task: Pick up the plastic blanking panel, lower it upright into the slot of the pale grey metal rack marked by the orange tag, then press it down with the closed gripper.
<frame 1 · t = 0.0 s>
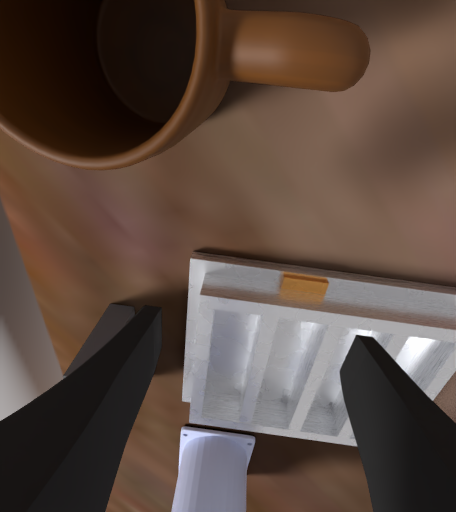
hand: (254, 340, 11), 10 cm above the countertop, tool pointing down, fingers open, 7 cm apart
mug: (205, 58, 16), on the countertop
rack: (305, 349, 25), on the countertop
panel: (125, 343, 27), on the countertop
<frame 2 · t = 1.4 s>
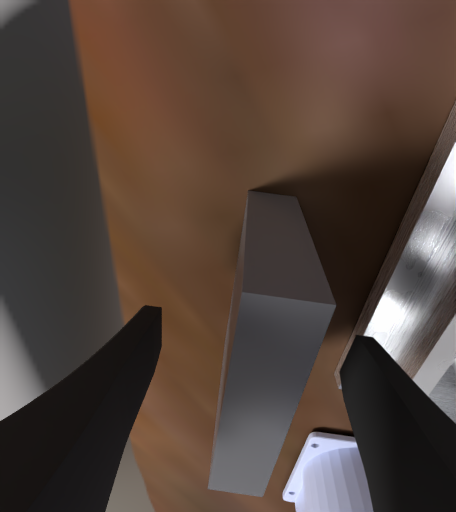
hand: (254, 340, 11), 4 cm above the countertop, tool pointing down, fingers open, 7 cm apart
panel: (254, 281, 15), on the countertop
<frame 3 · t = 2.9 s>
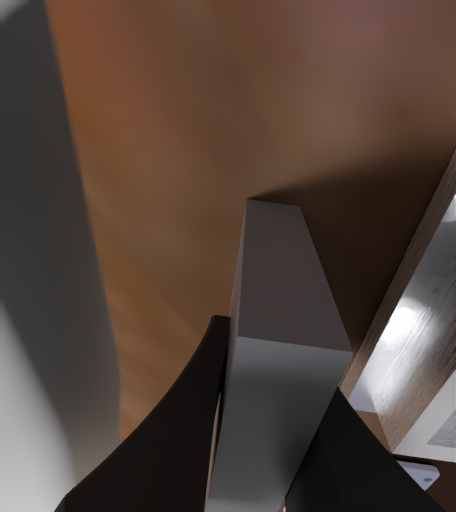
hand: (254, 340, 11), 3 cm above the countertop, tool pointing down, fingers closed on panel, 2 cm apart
panel: (253, 296, 13), on the countertop, touching gripper
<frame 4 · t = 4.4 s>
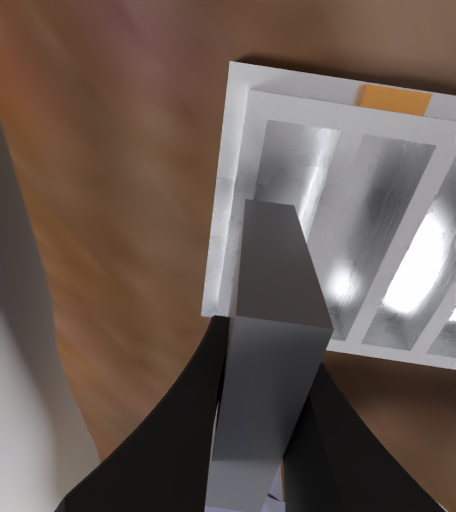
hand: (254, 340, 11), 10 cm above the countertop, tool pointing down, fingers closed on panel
rack: (369, 234, 19), on the countertop
panel: (252, 290, 14), point 6 cm above the countertop, touching gripper
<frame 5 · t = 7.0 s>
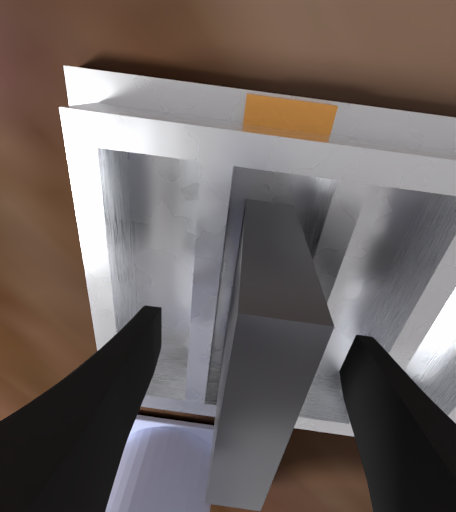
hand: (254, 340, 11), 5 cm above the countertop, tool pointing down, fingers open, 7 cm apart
rack: (295, 278, 15), on the countertop
panel: (252, 289, 14), point 1 cm above the countertop, touching rack
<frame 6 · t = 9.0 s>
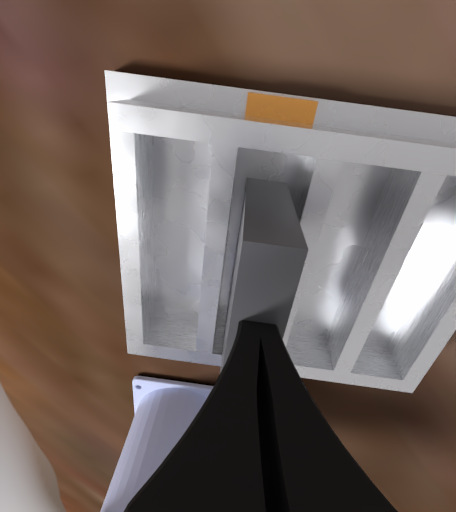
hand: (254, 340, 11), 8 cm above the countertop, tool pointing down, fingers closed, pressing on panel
rack: (288, 248, 18), on the countertop
panel: (252, 256, 17), point 1 cm above the countertop, touching gripper, rack
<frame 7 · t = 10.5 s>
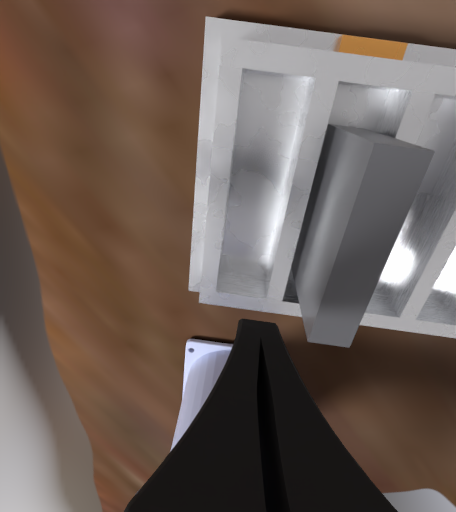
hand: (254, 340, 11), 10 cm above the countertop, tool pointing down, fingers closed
rack: (354, 200, 19), on the countertop
panel: (323, 206, 18), point 1 cm above the countertop, touching rack
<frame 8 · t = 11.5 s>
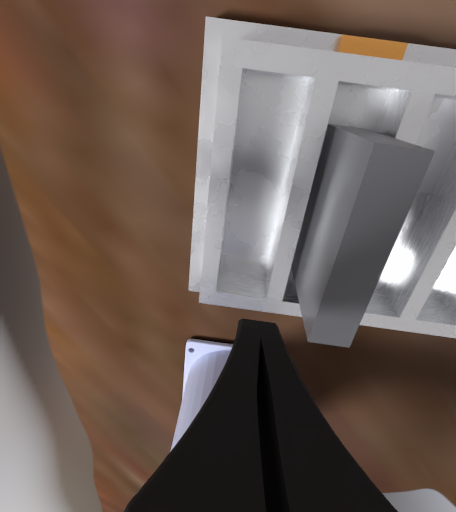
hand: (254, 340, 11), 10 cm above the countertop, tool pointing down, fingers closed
rack: (354, 200, 19), on the countertop
panel: (323, 206, 18), point 1 cm above the countertop, touching rack
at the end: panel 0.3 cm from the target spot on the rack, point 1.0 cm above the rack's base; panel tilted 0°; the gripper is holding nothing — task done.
